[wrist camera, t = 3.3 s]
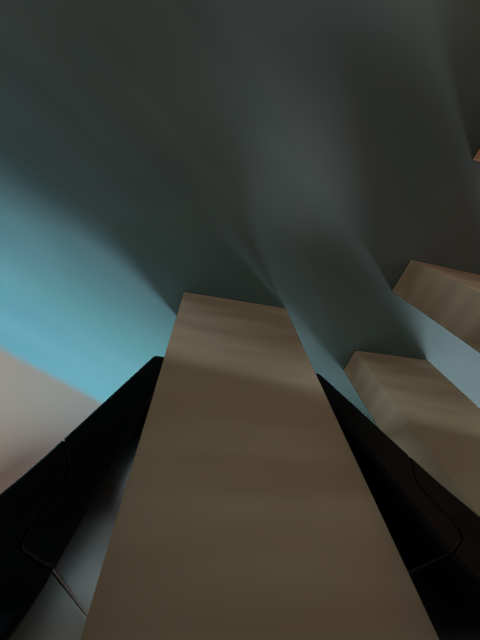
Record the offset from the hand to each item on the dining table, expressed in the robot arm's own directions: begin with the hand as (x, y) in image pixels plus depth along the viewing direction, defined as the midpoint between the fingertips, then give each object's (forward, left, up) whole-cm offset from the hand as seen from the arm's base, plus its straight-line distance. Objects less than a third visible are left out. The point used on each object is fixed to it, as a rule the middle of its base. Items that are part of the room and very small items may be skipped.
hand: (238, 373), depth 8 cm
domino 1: (0, 0, -4) cm, 4 cm away
